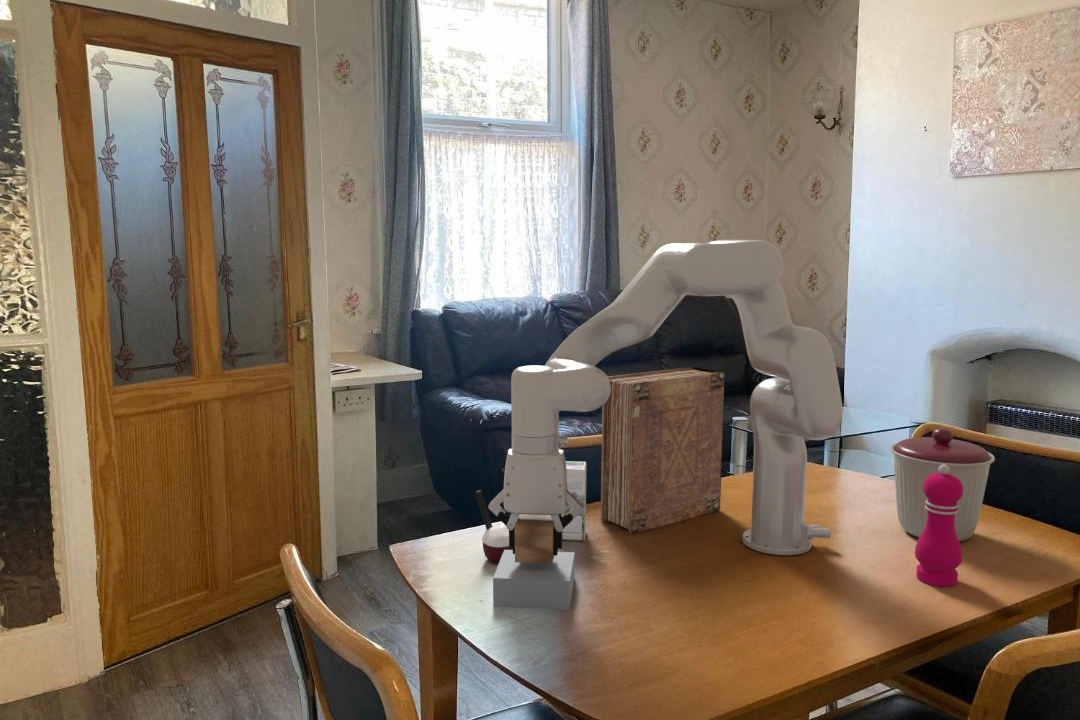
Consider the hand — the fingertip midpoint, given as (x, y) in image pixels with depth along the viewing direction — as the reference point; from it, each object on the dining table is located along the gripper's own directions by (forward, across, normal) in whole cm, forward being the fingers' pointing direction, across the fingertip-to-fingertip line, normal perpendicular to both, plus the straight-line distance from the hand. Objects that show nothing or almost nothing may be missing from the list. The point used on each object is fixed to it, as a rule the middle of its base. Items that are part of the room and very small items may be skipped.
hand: (535, 550), depth 132 cm
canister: (+7, -75, -35) cm, 83 cm away
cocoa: (+7, +8, -13) cm, 17 cm away
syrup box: (+7, -4, -26) cm, 27 cm away
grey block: (+7, 0, 0) cm, 7 cm away
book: (+7, -22, -40) cm, 46 cm away
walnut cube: (+1, 0, 0) cm, 1 cm away
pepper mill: (+7, -67, -12) cm, 68 cm away
